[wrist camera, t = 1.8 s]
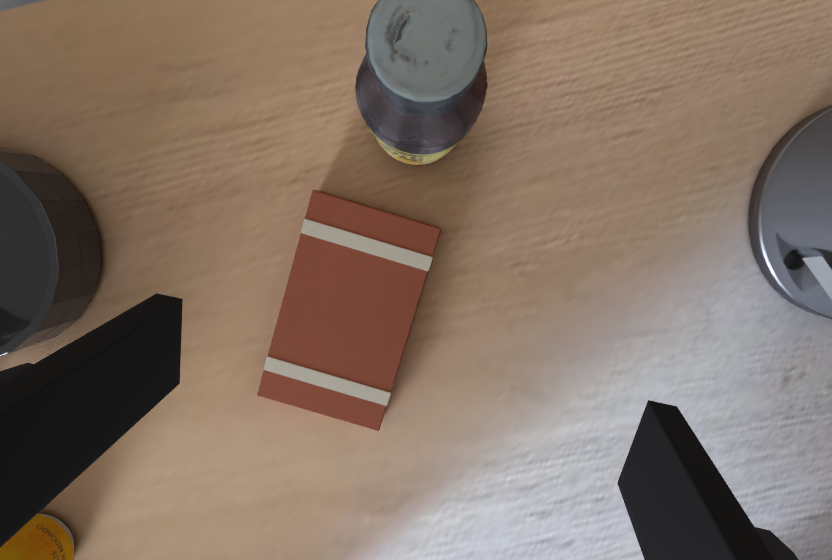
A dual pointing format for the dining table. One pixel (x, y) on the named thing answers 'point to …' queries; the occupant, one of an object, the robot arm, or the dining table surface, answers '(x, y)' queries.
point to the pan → (42, 252)
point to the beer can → (40, 541)
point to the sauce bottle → (422, 76)
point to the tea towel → (347, 309)
